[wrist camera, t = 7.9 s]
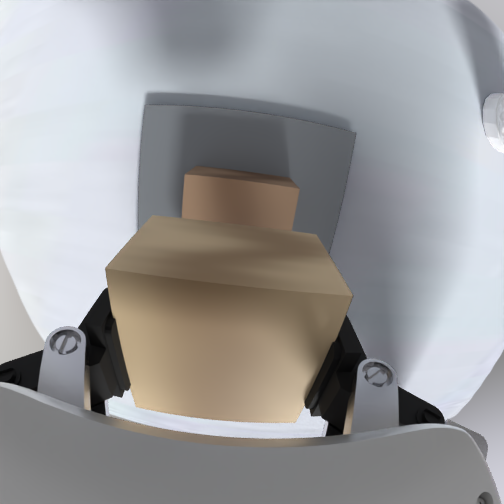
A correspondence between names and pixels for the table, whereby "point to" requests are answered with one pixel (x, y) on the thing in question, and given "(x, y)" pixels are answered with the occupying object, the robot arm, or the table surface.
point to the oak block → (224, 317)
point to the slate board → (244, 159)
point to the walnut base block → (239, 198)
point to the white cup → (494, 120)
